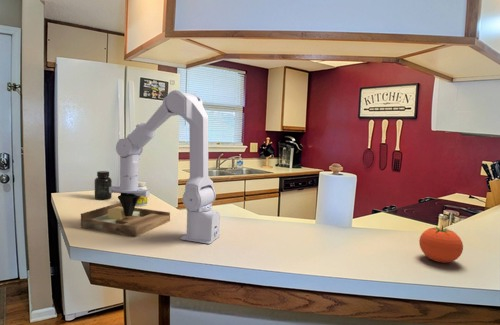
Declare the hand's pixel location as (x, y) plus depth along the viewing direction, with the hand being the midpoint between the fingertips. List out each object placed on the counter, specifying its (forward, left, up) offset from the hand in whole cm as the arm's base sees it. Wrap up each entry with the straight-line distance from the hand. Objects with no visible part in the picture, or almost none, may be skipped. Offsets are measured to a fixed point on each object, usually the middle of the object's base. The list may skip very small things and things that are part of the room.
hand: (128, 215), depth 107 cm
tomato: (-94, -9, -3) cm, 94 cm away
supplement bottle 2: (+13, -24, -3) cm, 28 cm away
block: (+4, 0, -1) cm, 4 cm away
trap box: (0, 0, -3) cm, 3 cm away
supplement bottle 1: (+34, -26, -3) cm, 43 cm away
